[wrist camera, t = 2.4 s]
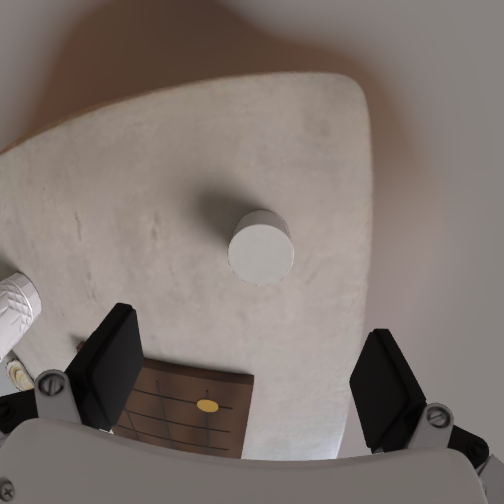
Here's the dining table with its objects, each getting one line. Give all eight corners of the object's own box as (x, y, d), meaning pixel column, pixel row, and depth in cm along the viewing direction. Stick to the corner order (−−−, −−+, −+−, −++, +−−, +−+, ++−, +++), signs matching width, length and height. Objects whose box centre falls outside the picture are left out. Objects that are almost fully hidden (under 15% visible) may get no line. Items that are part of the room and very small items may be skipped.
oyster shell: (48, 368, 39) (6, 350, 32) (53, 378, 37) (9, 360, 30) (39, 391, 37) (-2, 375, 30) (45, 402, 35) (1, 386, 28)
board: (254, 375, 29) (253, 386, 28) (240, 456, 37) (239, 463, 36) (81, 340, 29) (75, 348, 28) (117, 430, 38) (114, 436, 36)
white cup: (26, 322, 29) (-12, 362, 20) (2, 274, 27) (-44, 309, 18) (54, 316, 28) (10, 364, 19) (26, 261, 26) (-28, 300, 16)
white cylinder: (293, 213, 22) (298, 228, 18) (285, 265, 24) (288, 288, 20) (236, 207, 22) (229, 220, 19) (231, 260, 24) (225, 282, 20)
